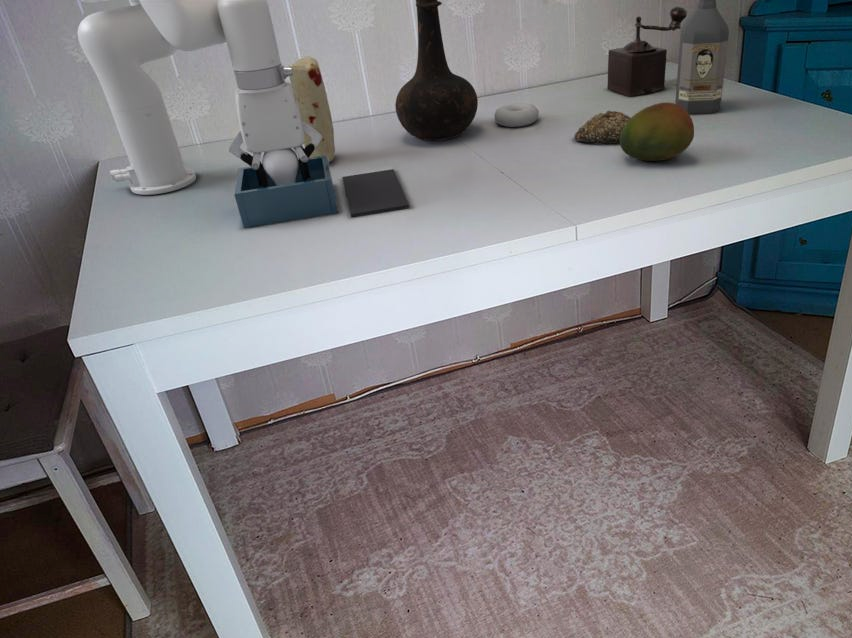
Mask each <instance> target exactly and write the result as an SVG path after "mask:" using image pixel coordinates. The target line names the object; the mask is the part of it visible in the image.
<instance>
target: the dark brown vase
mask: <svg viewBox="0 0 852 638" xmlns="http://www.w3.org/2000/svg"><path fill="white" fill-rule="evenodd" d="M441 5H443V2H442V1H439V0H415V7H416V16H417V17H416V18H417V19H416V20H417V60H416V61H417V62H416V67H415V72H414V75H413V77H412V78H410V79H409V80H408V81H407V82H406V83H405V84H404V85H402V87H401V88H400V89H399V91H398V93H397V95H396V99H395V105H394V106H395V113H396V117H397V120H398V121H399V123H400V124H401V126H402V128H403V129H404V130H405V131H406V132H407V133H408V134H409V135H411V136H413V137H415V138H417V139H419V140H424V141H442V140H447V139H452V138H456V137H458V136H460V135H462V134H463V133H464V132H465V131H467V129H468V128H469V127H470V125H471V124H472V123H473V121H474V120H475V117H476V114H477V111H478V104H479V101H478V95H477V92H476V89H475V87H474V86H473V85H472V84H471V83H470V82H469V80H467V79H466V78H464V77H462V76H460V75H457V74H455V73H453V72H452V71H451V69H450V66H449V65H448V61H447V58H446V53H445V52H446V51H445V48H444V42H443V35H442V34H443V33H442V27H441V21H440V14H439V6H441Z"/></svg>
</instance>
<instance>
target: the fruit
mask: <svg viewBox="0 0 852 638" xmlns="http://www.w3.org/2000/svg"><path fill="white" fill-rule="evenodd" d="M630 118H631V119H630V120H629V121H628V122H627V123H626V125H625V126H624V128H623V130H622V132H621V134H620V143H619V145H620V148H621V150H622V151H623V153H625V154H626V155H627V156H628V157H631V158H633V159H636V160H640V161H644V162H645V161H646V162H655V161H658V162H659V161H664V160H669V159H673V158H675V157H677V156H679V155H681V154H682V153H683V152H685V151H686V150H687V149H689V147H690V145H691V144H692V142H693V140H694V137H695V125H694V121H693V119H692V117H691V114H688V112H687V111H686V110H685V109H684V108H683V107H681V106H679V105H677V104H676V103H675V102H667V101H665V102H660V103H655V104H652V105H650V106H647V107H644V108H643V109H640V110H639V111H638V112H636V113H635V114H634V115H633V116H631V117H630Z"/></svg>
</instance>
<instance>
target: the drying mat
mask: <svg viewBox="0 0 852 638" xmlns="http://www.w3.org/2000/svg"><path fill="white" fill-rule="evenodd" d="M341 178H342V182H343V183H342V184H343V186H344V190H345V191H344V192H345V195H346V200H347V204H348V209H349V213H350V217H351V218H354V217H361V216H367V215H374V214H379V213H386V212H391V211H392V212H393V211H398V210H405V209H409V208H410V204H409V202H408V199H407V197H406V195H405V192H404V190H403V188H402V185H401V183H400V181H399V178H398V176H397V174H396V172H395V169H394V168H390V169H384V170H378V171H372V172H365V173H359V174H352V175H346V176H342V177H341Z"/></svg>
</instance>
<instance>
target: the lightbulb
mask: <svg viewBox="0 0 852 638" xmlns="http://www.w3.org/2000/svg"><path fill="white" fill-rule="evenodd" d="M298 159H299V157H298V155H297V154H296V152H295V151H294V149H293V148H289V149H282V150H275V151H268V152H263V155H262V156H261V163H262V165H263V168H264V170H265V172H266V173H267V174H268V176H269V177H270V178H271V179H272V180H273V181H274V183H275V184H276V186H279V185H285V184H292V183H296V175H297V171H298V167H299V160H298Z"/></svg>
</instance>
